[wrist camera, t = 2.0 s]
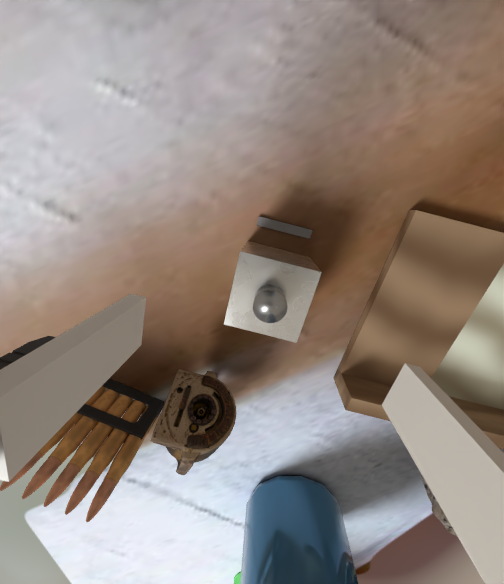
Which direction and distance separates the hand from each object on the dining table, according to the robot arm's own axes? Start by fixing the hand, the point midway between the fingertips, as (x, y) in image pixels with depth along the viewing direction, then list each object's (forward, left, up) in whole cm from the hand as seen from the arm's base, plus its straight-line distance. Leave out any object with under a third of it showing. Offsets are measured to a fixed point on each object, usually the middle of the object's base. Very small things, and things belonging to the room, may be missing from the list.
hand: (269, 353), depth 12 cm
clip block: (0, 0, -12) cm, 12 cm away
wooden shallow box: (0, +20, -12) cm, 23 cm away
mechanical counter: (+16, -3, -13) cm, 20 cm away
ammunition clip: (+19, -14, -13) cm, 27 cm away
